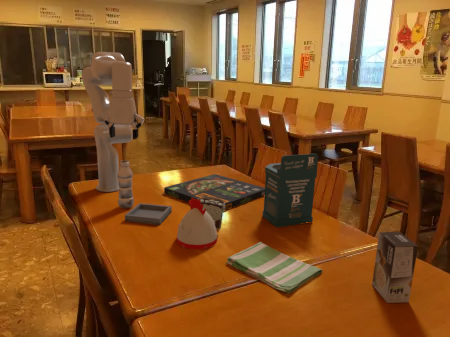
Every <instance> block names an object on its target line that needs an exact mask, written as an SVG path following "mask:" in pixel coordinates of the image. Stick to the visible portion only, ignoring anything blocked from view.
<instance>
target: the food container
mask: <svg viewBox="0 0 450 337" xmlns="http://www.w3.org/2000/svg"><path fill="white" fill-rule="evenodd" d="M198 200H200V201H201V205H202V204H203V209H206V211H207V212H208V214H209V215H210V216H211V217H212V219H213V220H215V227H216V230H220V229H221V228H222V223H223V222H222V221H223V215H224V211H223V210H224V209H225V203H224V201H223V200H222V199H219V198H215V197H201V198H198Z"/></svg>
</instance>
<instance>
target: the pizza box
mask: <svg viewBox="0 0 450 337" xmlns="http://www.w3.org/2000/svg"><path fill="white" fill-rule="evenodd" d="M163 192H164V193H163V194H165V195H167V196H170V197H173V198H174V199H175V198H176V199H179V200H181V201H184V202H187V203H189V200H191V198H194V201H195V199H198V198H201V197H215V198H219V199H222V200H223V201H224V203H225V209H224V210H223V212H225V211H227V210H231V209H233V208H236V207H238V206H241V205H243V204H246V203H248V202H251V200H252V201H254V200H257V199H259V198H262V197H264V196H263V195H265V186H260V185H256V184H253V183H249V182H246V181H243V180H242V181H241V180H238V179H234V178H231V177H227V176H223V175H219V174H216V173H213V174H209V175H207V176H201V177H199V178H195V179H191V180H187V181H183V182H179V183H175V184H172V185H168V186H165V187H164V188H163ZM261 196H262V197H261ZM258 197H259V198H258ZM256 198H257V199H256Z"/></svg>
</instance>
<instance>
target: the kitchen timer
mask: <svg viewBox="0 0 450 337" xmlns="http://www.w3.org/2000/svg"><path fill="white" fill-rule="evenodd" d="M188 203H189V204H188V205H189V208H190V210H188V211H187V212H186V213H185V215H184V216H183V217H182V219H181V220H180V223H179V224H178V226H177V228H178V229H177V234H176V242H177V244H178V245H179V246H181V247H182V248H186V249H189V250H203V249H209V248H211V247H213V246H214V245H216V244H217V242H218V233H217V229H216V227H215V220H213V219H212V217H211V216H210V215H209V214H208V212H207V211H206V209H203V204H202V205H201V201H200V200H198V199H195V201H194V198H191V200H189V202H188Z"/></svg>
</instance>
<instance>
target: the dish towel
mask: <svg viewBox="0 0 450 337" xmlns="http://www.w3.org/2000/svg"><path fill="white" fill-rule="evenodd" d="M226 260H227V262H226V265H227V264H228V265H230V266H231V267H234V268H235V269H237V270H239V271H241V272H243V273H245V274H246V275H247V274H248V275H249V276H251V277H253V278H255V280H259V281H261V282H262V283H265V284H266V285H268V286H270V287H272V288H273V289H276V290H278V291H281V292H284V293H285V294H288V295H289V294H291V293H292V292H294V291H295V290H297V289H298V288H300V287H301V286H302V285H304V284H305V283H306V282H308V281H309V280H310V279H314V278H316V277H317V276H319V275H320V274H322V273H323V269H321V268H319V267H318V266H314V265H311V264H308V263H306V262H304V261H301V260H300V259H299V260H298V259H297V258H294V257H292V256H289V255H287V254H285V253H283V252H281V251H279V250H277V249H275V248H273V247H271V246H269V245H267V244H265V243H263V242H261V241H260V242H258V243H256V244H254V245H251V246H249V247H248V248H246V249H243V250H241V251H238V252H237V253H235V254H233V255H231V256H228V257H227V258H226Z"/></svg>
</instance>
